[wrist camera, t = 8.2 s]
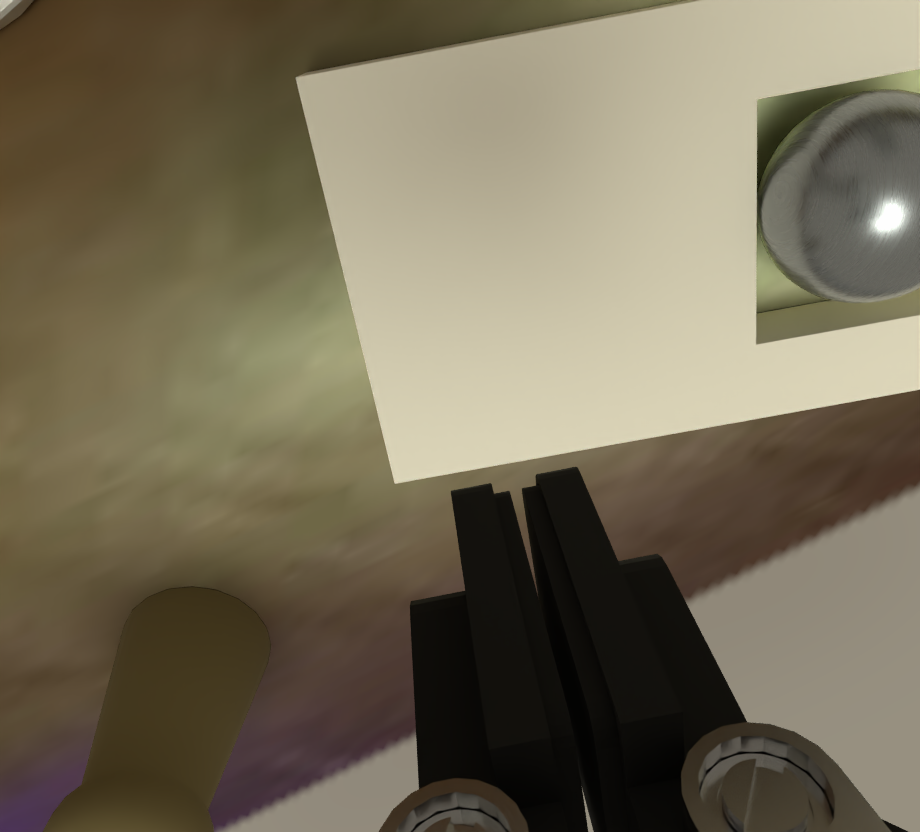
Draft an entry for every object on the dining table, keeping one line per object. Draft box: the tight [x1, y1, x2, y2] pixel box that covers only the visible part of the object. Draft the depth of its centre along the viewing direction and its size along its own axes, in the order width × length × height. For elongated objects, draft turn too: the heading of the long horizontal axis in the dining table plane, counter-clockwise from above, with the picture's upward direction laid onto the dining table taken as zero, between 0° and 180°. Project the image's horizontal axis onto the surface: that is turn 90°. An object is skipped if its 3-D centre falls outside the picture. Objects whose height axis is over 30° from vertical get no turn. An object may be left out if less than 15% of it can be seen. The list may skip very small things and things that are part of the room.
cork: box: [43, 587, 271, 832], centre depth 28 cm, size 6×6×11 cm
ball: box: [757, 90, 920, 303], centre depth 23 cm, size 6×6×6 cm
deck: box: [295, 0, 920, 483], centre depth 25 cm, size 13×22×2 cm, turn 100°
